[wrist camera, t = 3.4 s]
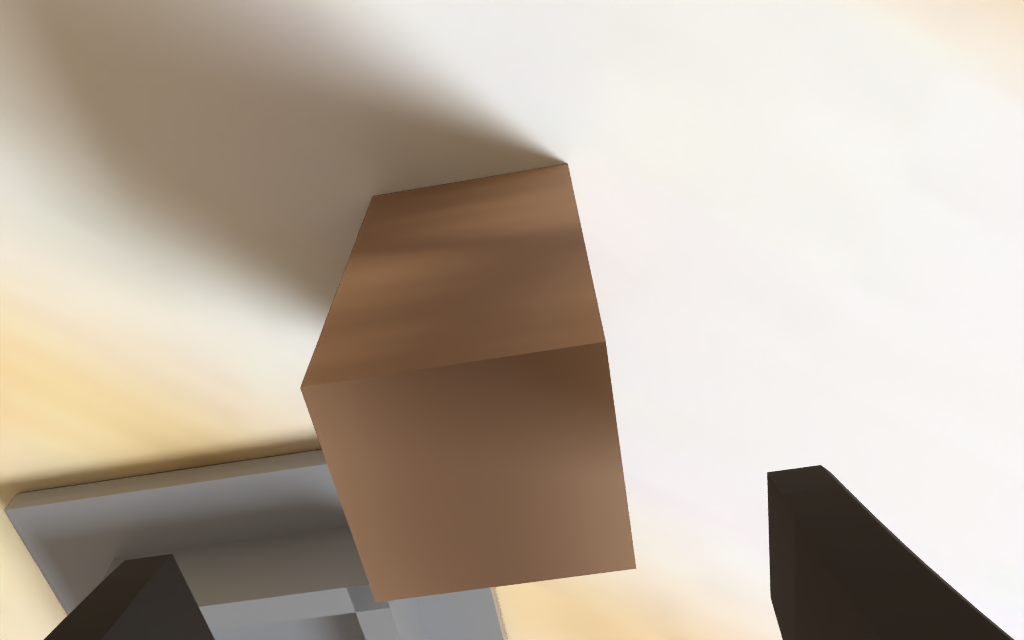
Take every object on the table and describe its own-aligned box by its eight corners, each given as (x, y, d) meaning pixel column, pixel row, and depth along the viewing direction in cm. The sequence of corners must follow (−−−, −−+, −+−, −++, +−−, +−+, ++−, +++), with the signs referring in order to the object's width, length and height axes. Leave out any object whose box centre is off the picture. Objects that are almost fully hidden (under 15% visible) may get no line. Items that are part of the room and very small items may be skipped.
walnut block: (416, 361, 19) (376, 602, 13) (372, 196, 17) (300, 387, 11) (591, 334, 19) (635, 567, 13) (567, 163, 17) (605, 342, 11)
